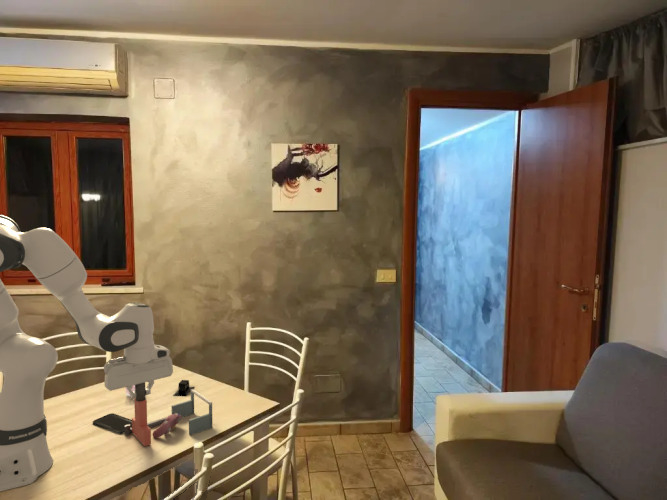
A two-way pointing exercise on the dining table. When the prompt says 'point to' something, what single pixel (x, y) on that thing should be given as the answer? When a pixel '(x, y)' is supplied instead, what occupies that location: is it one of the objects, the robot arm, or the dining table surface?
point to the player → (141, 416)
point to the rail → (151, 424)
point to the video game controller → (167, 425)
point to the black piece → (183, 388)
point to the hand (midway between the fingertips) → (140, 395)
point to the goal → (188, 409)
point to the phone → (113, 423)
